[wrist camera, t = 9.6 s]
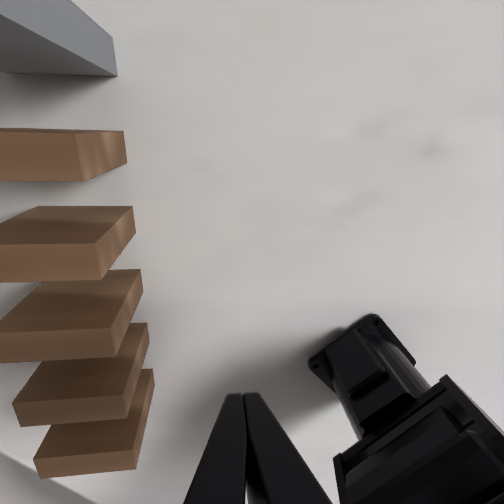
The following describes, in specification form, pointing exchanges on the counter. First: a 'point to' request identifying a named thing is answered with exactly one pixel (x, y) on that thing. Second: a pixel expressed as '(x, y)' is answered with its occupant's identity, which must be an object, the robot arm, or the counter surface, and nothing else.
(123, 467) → the domino
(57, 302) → the domino
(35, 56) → the grey domino
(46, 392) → the domino
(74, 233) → the domino
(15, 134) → the domino
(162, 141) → the counter surface
